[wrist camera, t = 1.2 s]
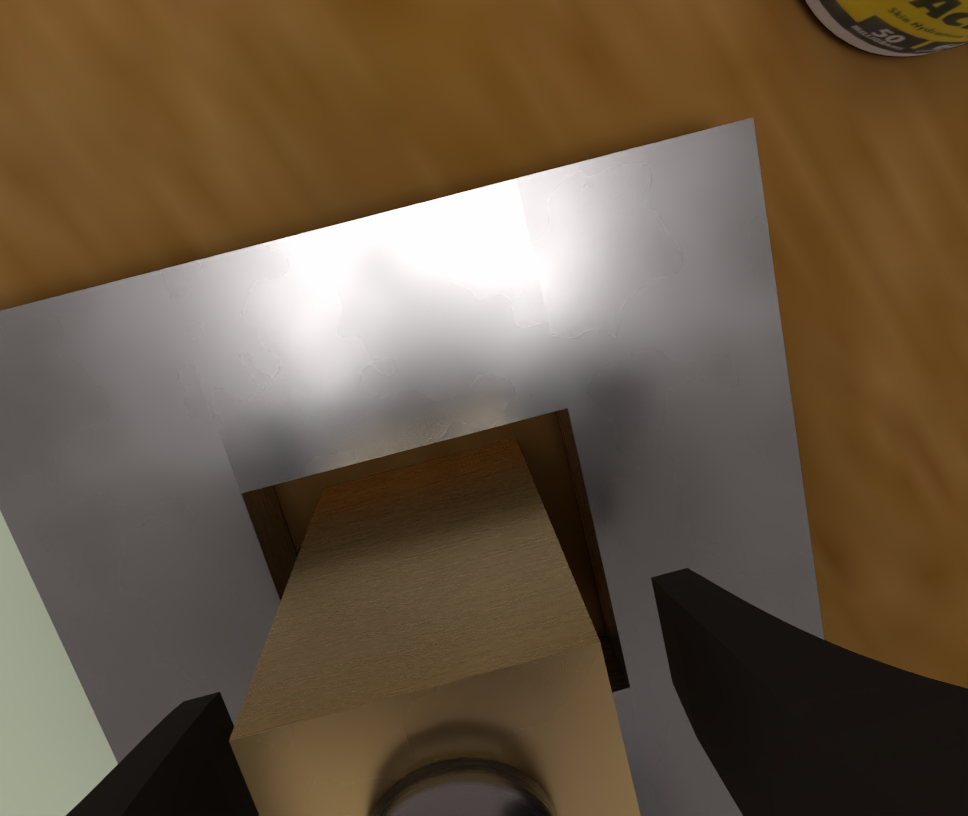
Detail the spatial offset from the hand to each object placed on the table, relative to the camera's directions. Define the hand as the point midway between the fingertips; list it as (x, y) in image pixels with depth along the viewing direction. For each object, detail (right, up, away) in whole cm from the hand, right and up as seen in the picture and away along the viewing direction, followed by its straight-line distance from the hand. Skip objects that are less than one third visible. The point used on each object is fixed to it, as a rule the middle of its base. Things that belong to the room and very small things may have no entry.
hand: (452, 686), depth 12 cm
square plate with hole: (0, +1, +5) cm, 5 cm away
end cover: (0, +1, +5) cm, 5 cm away
